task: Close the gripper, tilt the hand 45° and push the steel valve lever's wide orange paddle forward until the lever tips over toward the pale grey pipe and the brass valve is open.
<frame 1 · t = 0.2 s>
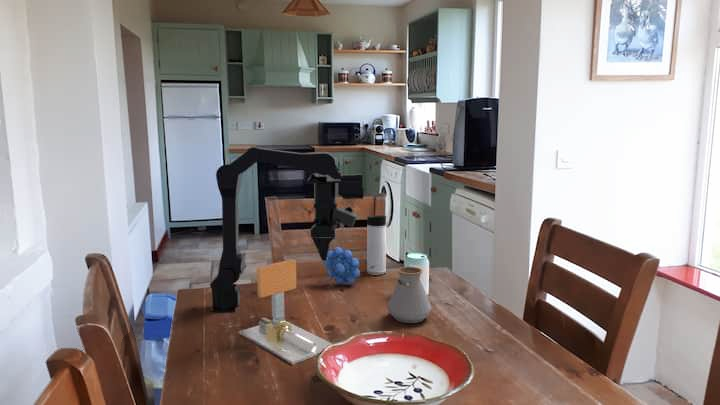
hand: (325, 255, 144), 14 cm above the table, tool pointing down, fingers open, 9 cm apart
coffee pot: (405, 325, 134), on the table
blue bumpy rounded lump: (341, 285, 164), on the table
valve body: (278, 336, 126), on the table
travel mug: (376, 273, 177), on the table
valve lever: (277, 293, 125), point 11 cm above the table, hinge at 0.0°
can: (416, 295, 156), on the table
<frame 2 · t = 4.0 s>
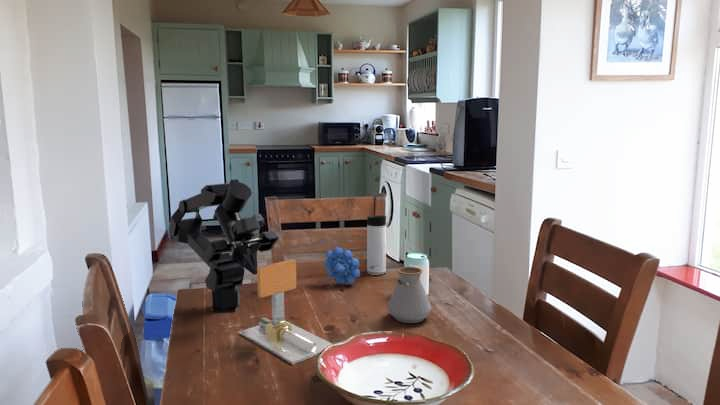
hand: (256, 273, 131), 14 cm above the table, tool tilted 45°, fingers closed
nothing on the table moved.
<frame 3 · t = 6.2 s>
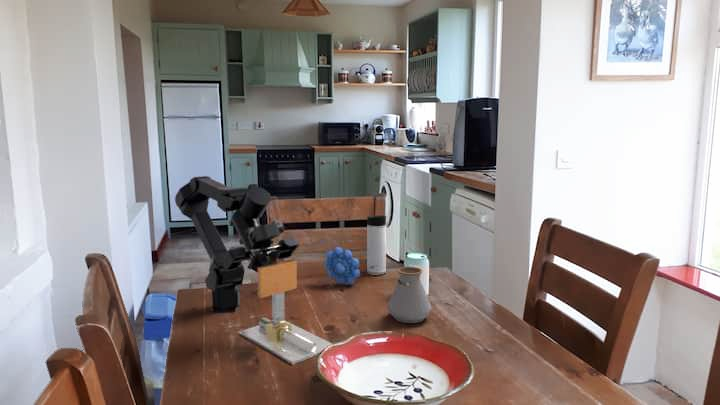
hand: (276, 282, 125), 13 cm above the table, tool tilted 45°, fingers closed, pressing on valve lever
valve lever: (278, 293, 125), point 11 cm above the table, hinge at 1.3°, touching gripper
everything else where it was.
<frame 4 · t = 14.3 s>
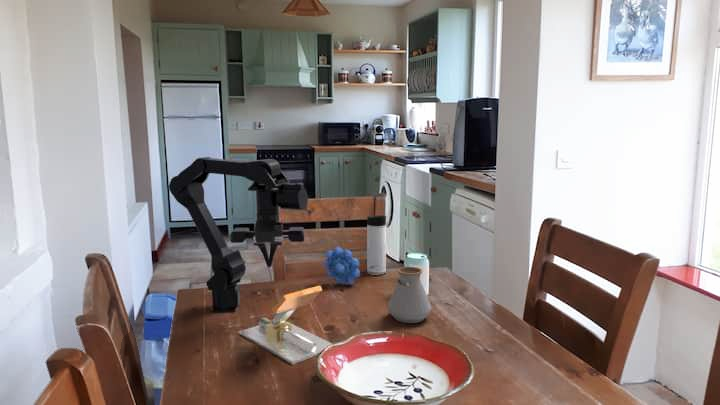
hand: (269, 266, 139), 13 cm above the table, tool pointing down, fingers closed
valve lever: (289, 307, 121), point 9 cm above the table, hinge at 47.1°
everything else where it was.
at the end: valve lever at +47° (first picture: +0°); the gripper is holding nothing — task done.
